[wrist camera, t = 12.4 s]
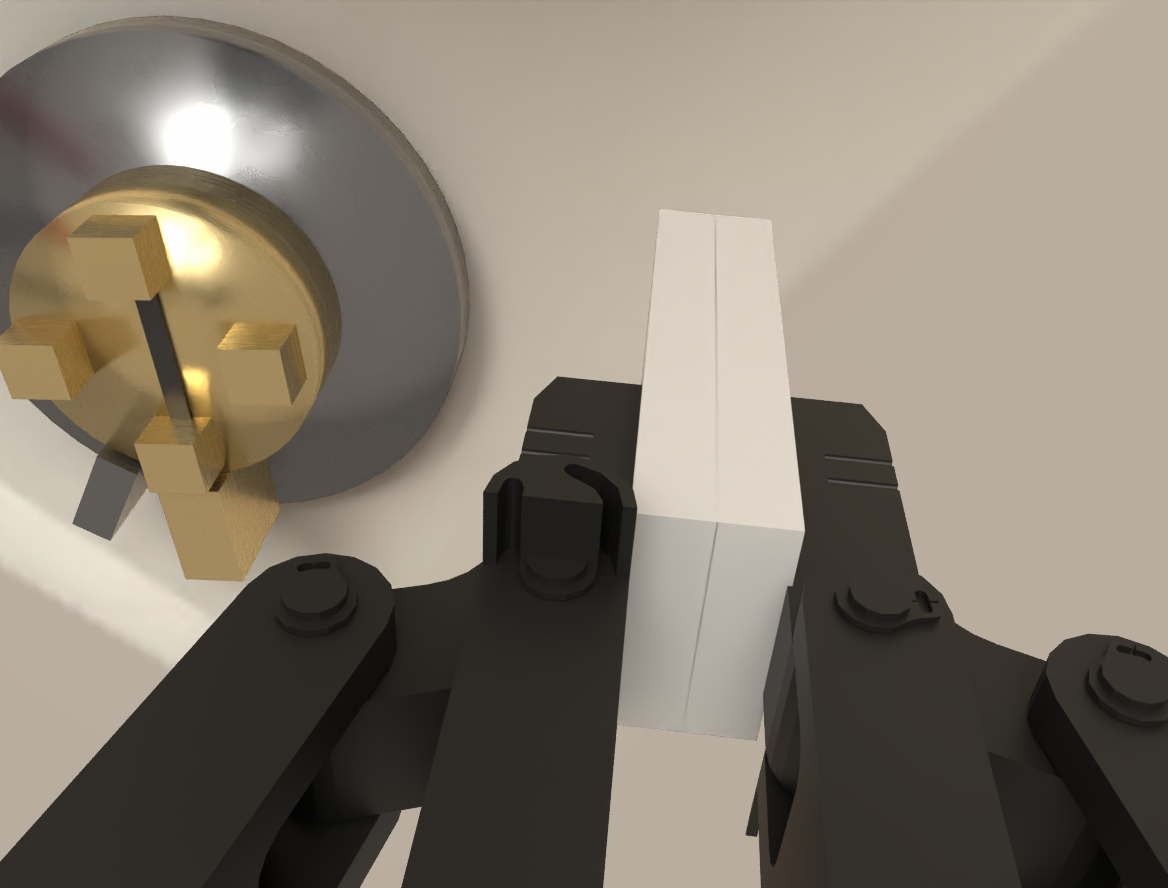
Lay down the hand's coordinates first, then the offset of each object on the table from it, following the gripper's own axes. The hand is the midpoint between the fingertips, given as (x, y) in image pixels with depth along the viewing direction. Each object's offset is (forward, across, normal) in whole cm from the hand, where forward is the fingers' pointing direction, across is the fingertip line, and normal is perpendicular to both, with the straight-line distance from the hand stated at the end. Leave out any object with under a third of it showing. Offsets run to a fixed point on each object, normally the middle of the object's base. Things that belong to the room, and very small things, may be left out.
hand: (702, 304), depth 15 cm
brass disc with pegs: (+22, -18, -16) cm, 32 cm away
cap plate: (+24, -18, -14) cm, 33 cm away
